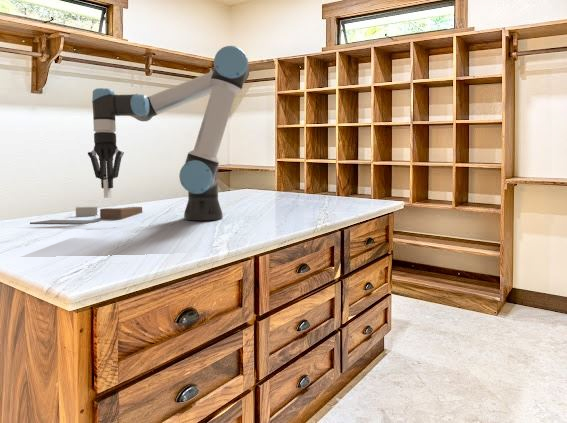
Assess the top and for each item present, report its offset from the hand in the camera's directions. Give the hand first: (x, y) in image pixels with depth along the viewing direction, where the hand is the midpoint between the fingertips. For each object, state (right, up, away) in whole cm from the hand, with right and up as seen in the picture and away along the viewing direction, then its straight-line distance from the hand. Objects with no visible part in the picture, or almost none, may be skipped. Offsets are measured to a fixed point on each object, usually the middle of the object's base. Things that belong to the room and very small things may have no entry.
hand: (107, 197), depth 173 cm
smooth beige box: (-17, -8, +22) cm, 29 cm away
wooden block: (-3, -6, +12) cm, 14 cm away
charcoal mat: (-16, -9, +2) cm, 19 cm away
